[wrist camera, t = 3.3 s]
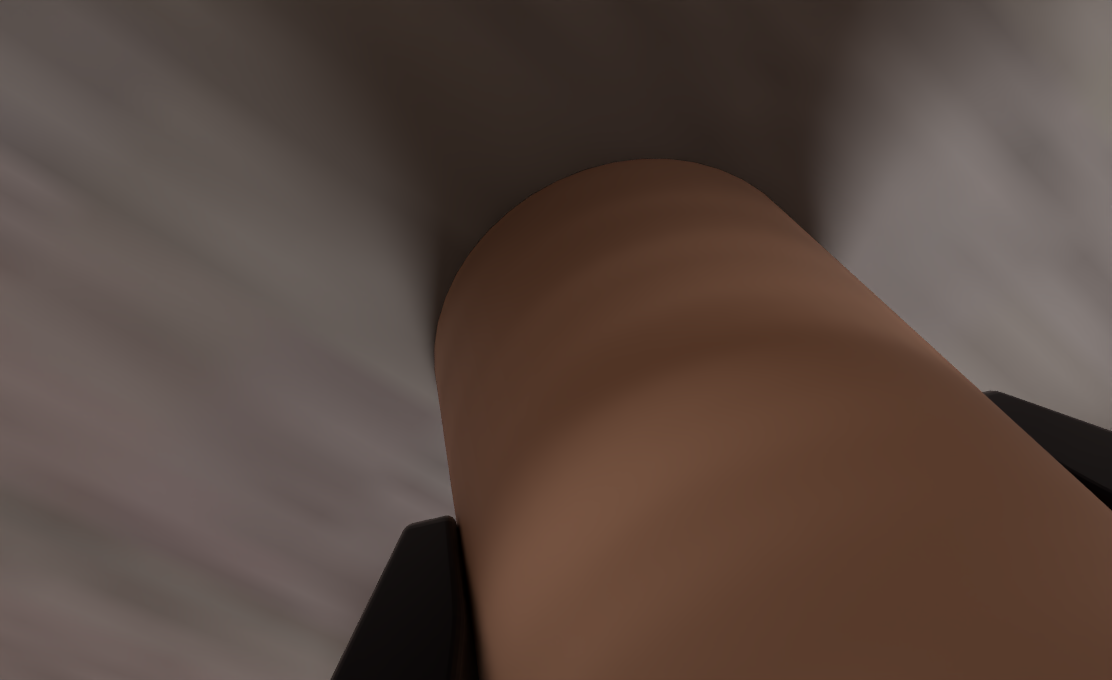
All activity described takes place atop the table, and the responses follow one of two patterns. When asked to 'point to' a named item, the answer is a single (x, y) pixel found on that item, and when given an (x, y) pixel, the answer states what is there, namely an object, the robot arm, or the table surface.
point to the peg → (739, 460)
